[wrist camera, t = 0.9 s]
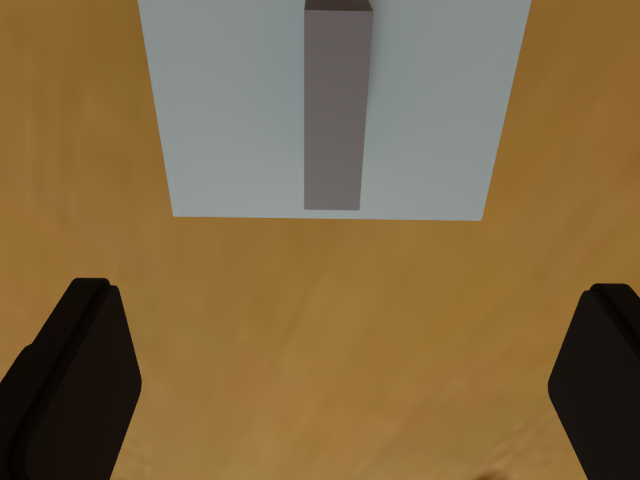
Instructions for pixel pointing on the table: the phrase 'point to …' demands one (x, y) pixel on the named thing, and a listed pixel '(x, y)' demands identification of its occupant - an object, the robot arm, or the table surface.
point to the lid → (331, 104)
